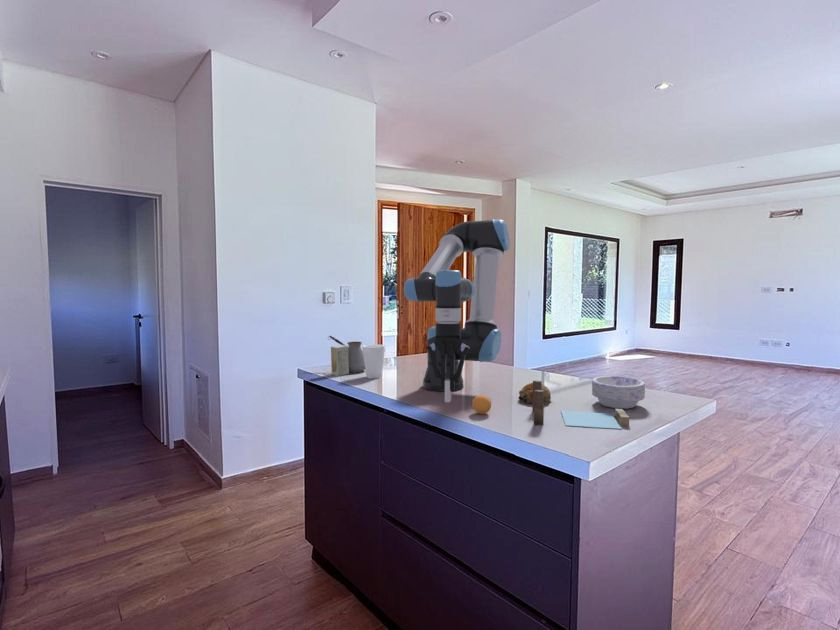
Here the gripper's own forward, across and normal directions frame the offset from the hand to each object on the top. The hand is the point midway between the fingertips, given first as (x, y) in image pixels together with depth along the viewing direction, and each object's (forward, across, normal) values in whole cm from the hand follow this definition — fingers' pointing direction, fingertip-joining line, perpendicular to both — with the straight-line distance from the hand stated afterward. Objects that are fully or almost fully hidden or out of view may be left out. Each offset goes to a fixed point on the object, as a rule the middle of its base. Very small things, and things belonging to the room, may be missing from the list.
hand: (447, 401), depth 133 cm
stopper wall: (+3, +49, 0) cm, 49 cm away
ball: (+1, +10, 0) cm, 10 cm away
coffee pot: (+3, -55, +56) cm, 79 cm away
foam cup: (+3, -38, +44) cm, 58 cm away
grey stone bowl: (+3, +51, +18) cm, 54 cm away
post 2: (+3, +26, -6) cm, 27 cm away
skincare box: (+3, -54, +46) cm, 71 cm away
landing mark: (+3, +40, 0) cm, 40 cm away
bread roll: (+3, +26, +18) cm, 32 cm away
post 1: (+3, +26, +7) cm, 27 cm away
